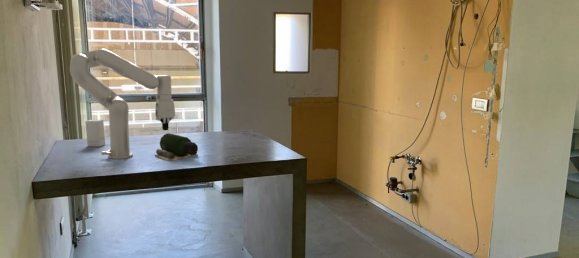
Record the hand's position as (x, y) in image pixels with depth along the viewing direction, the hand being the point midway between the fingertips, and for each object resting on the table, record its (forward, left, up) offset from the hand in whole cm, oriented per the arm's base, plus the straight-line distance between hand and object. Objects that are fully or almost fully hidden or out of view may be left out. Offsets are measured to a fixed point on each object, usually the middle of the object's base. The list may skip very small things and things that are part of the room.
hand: (165, 129), depth 244 cm
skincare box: (-21, +45, -13) cm, 51 cm away
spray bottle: (0, -1, -7) cm, 7 cm away
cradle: (0, -11, -13) cm, 17 cm away
